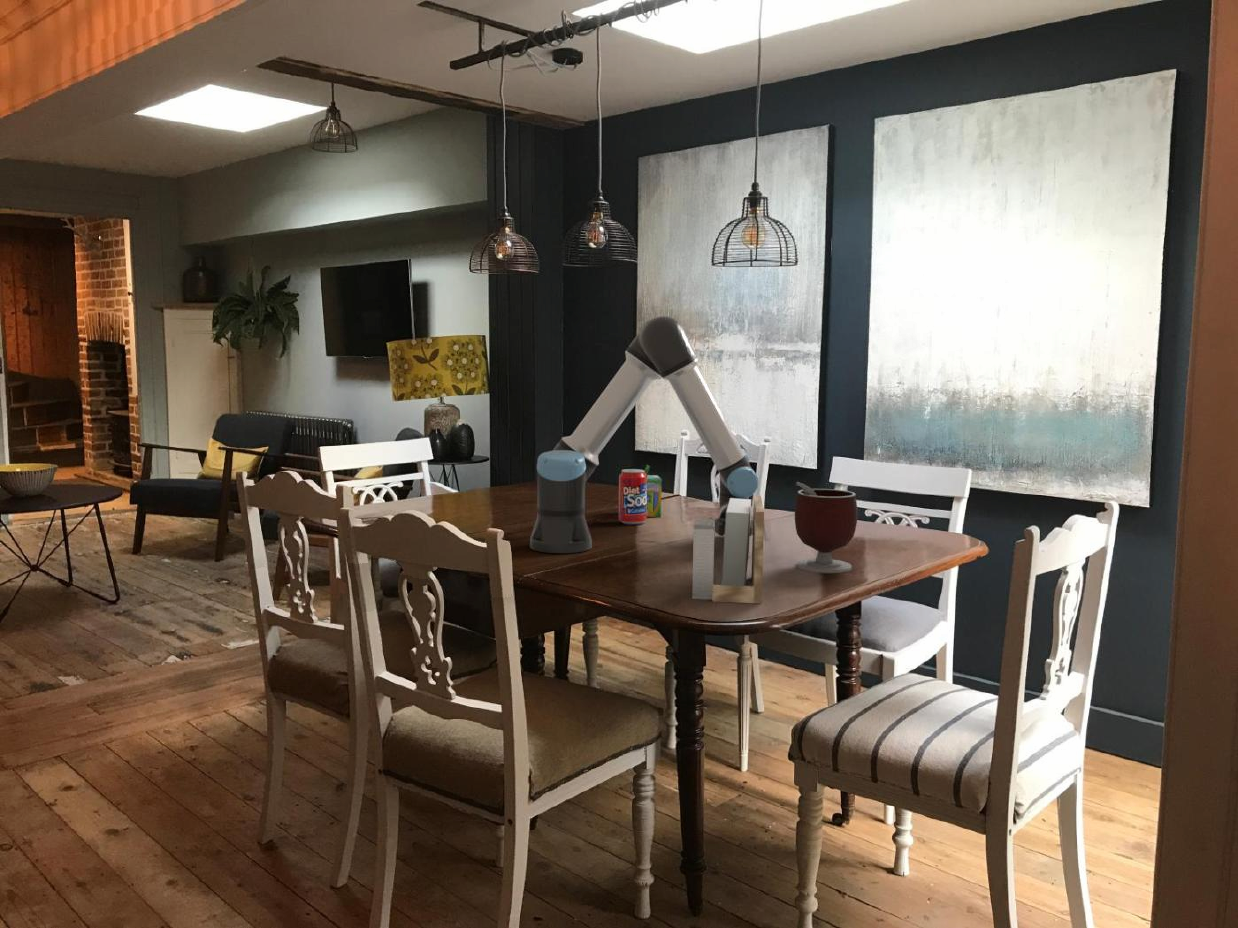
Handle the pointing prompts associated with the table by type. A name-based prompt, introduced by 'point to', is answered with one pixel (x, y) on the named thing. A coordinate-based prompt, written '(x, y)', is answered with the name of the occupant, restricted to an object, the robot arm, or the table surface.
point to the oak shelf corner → (755, 591)
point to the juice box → (653, 494)
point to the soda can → (632, 496)
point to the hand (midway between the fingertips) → (735, 536)
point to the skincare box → (736, 542)
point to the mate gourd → (825, 526)
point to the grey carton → (703, 558)
